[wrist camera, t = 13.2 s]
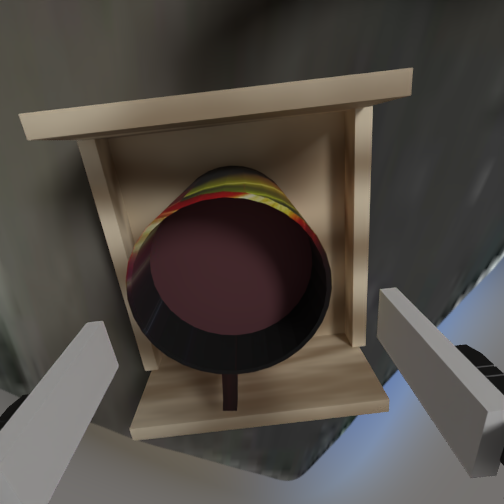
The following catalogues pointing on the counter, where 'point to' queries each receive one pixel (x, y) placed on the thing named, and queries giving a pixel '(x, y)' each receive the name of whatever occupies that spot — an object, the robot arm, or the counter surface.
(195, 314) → the mug
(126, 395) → the counter surface
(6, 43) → the counter surface
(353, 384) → the open wooden box
